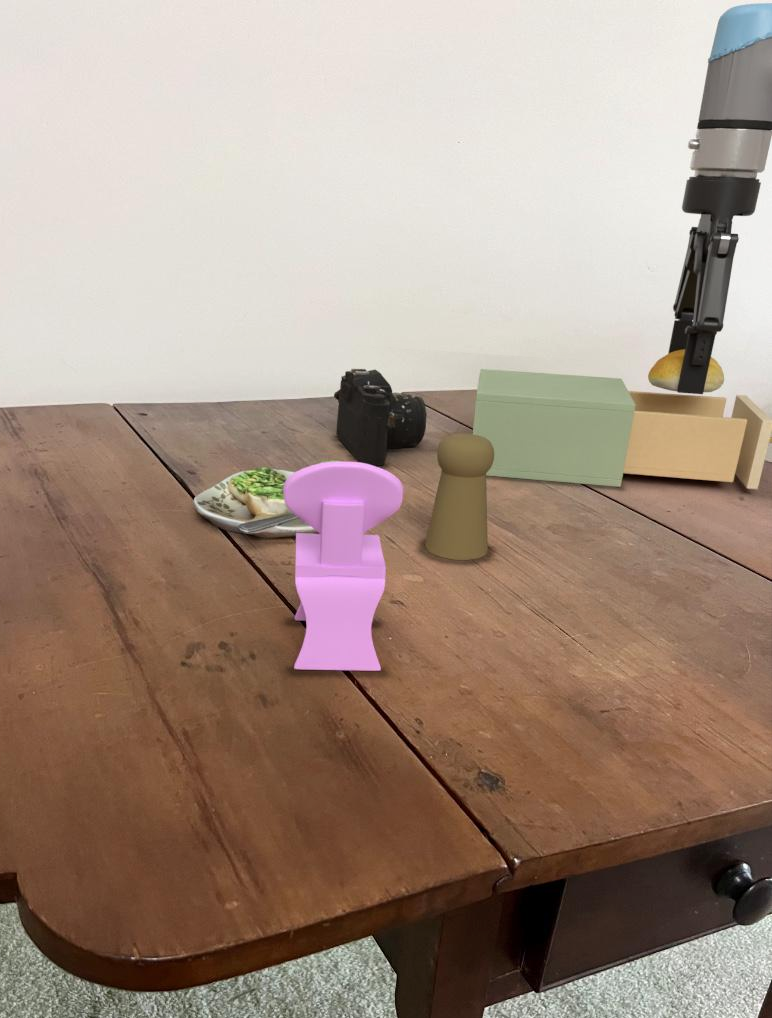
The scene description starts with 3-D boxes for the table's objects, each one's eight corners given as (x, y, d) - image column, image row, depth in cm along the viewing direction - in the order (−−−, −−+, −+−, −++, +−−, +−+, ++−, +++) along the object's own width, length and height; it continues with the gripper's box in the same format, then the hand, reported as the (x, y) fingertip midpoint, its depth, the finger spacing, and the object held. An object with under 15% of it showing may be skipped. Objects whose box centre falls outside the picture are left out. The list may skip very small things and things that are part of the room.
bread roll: (642, 389, 106) (649, 353, 105) (653, 376, 114) (660, 343, 112) (718, 397, 103) (726, 361, 102) (725, 384, 111) (732, 350, 109)
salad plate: (319, 564, 84) (321, 517, 82) (155, 529, 90) (153, 484, 88) (395, 503, 100) (398, 462, 98) (251, 478, 106) (251, 439, 104)
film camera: (457, 459, 116) (465, 380, 112) (376, 472, 110) (381, 388, 106) (379, 426, 130) (383, 354, 125) (302, 436, 124) (304, 361, 120)
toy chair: (384, 617, 74) (397, 435, 68) (394, 671, 66) (410, 470, 60) (282, 615, 74) (284, 432, 68) (279, 669, 66) (282, 467, 60)
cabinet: (608, 453, 121) (621, 378, 117) (620, 487, 108) (635, 404, 104) (472, 442, 124) (480, 368, 119) (468, 474, 110) (476, 392, 106)
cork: (487, 562, 85) (501, 447, 81) (422, 556, 86) (432, 442, 82) (488, 539, 91) (500, 430, 86) (427, 534, 92) (436, 425, 87)
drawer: (777, 460, 117) (793, 398, 113) (808, 493, 105) (827, 425, 101) (599, 446, 120) (609, 386, 117) (609, 476, 108) (620, 410, 105)
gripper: (672, 173, 109) (638, 364, 119) (707, 173, 90) (663, 401, 99) (738, 176, 108) (698, 368, 118) (788, 176, 89) (736, 407, 98)
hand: (682, 383), depth 109 cm, fingers closed on bread roll, 9 cm apart
